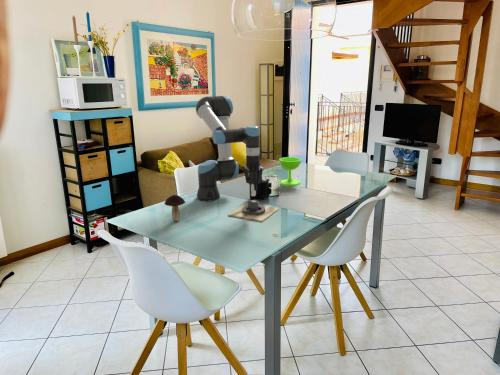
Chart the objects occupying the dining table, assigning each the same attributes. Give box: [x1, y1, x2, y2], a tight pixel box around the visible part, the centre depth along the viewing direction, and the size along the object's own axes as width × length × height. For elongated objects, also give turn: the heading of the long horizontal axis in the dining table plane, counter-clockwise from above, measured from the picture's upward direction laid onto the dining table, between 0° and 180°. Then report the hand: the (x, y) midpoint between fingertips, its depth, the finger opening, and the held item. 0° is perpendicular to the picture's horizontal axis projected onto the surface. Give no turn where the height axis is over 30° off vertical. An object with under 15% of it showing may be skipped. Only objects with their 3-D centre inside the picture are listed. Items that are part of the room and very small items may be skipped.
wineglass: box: [278, 156, 302, 187], centre depth 263 cm, size 16×16×18 cm
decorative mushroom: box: [164, 194, 186, 222], centre depth 194 cm, size 11×11×15 cm
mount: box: [227, 202, 280, 223], centre depth 207 cm, size 22×22×2 cm
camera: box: [249, 169, 273, 201], centre depth 229 cm, size 10×14×20 cm
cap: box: [247, 199, 260, 212], centre depth 205 cm, size 6×6×6 cm
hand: (253, 195), depth 204 cm, fingers closed
